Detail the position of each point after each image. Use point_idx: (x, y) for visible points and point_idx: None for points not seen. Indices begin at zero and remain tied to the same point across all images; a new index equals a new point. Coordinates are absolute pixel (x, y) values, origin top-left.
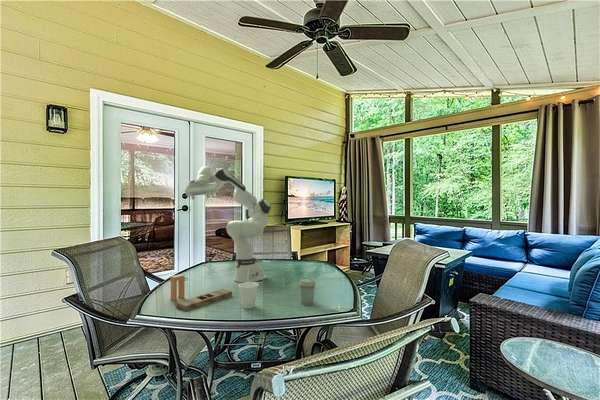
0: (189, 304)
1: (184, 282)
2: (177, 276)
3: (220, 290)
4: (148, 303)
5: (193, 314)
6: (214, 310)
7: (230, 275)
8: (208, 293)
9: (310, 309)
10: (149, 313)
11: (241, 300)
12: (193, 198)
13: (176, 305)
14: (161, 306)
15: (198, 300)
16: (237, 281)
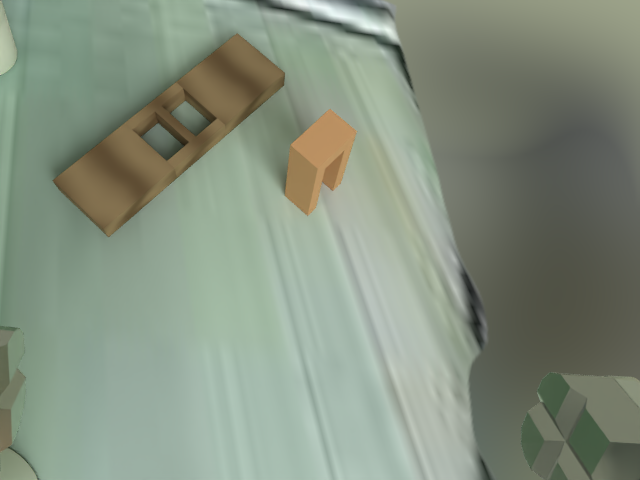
0: (226, 46)
1: (288, 163)
2: (320, 125)
3: (112, 203)
4: (411, 142)
5: (202, 18)
6: (129, 41)
7: None
8: (168, 165)
9: None
10: (361, 46)
11: (10, 31)
12: (551, 393)
13: (283, 79)
14: (345, 104)
15: (199, 83)
16: (17, 454)
